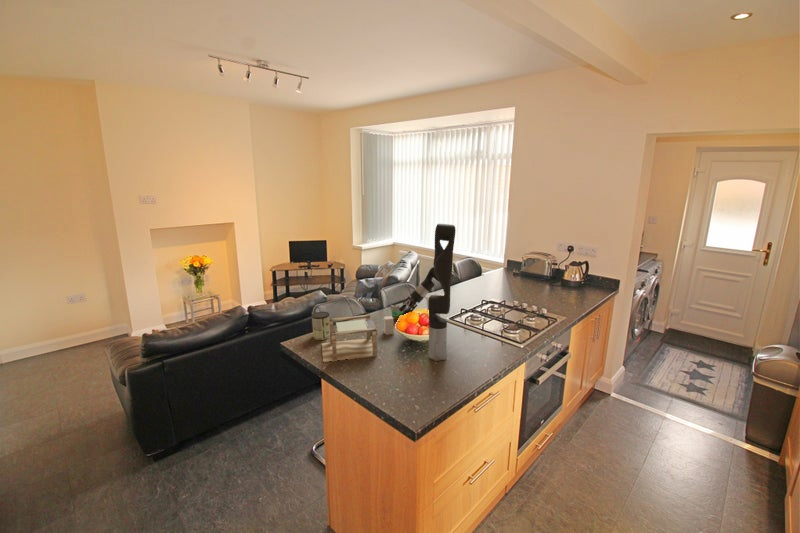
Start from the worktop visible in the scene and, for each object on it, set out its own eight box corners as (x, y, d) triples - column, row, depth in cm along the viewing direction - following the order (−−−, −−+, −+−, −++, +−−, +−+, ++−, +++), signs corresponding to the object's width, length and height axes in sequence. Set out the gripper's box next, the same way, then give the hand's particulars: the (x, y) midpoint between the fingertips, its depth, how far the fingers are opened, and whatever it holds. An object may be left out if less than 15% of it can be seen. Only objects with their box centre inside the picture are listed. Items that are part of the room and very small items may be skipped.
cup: (443, 319, 243) (444, 297, 240) (425, 319, 243) (425, 298, 240) (442, 313, 255) (442, 292, 252) (424, 313, 255) (424, 292, 252)
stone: (393, 334, 220) (393, 318, 218) (385, 335, 219) (385, 319, 217) (391, 331, 225) (391, 315, 223) (384, 332, 224) (383, 316, 222)
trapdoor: (377, 335, 192) (377, 328, 192) (338, 341, 188) (338, 333, 187) (372, 324, 210) (371, 317, 209) (336, 328, 205) (335, 321, 204)
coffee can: (316, 332, 224) (314, 311, 221) (332, 333, 223) (331, 311, 220) (310, 339, 214) (309, 317, 211) (327, 340, 213) (326, 317, 210)
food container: (386, 320, 243) (386, 306, 241) (391, 317, 249) (391, 303, 247) (403, 323, 238) (403, 308, 236) (407, 320, 243) (407, 306, 241)
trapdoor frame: (377, 355, 192) (376, 329, 189) (323, 362, 186) (321, 335, 182) (370, 338, 214) (369, 314, 211) (321, 344, 207) (320, 319, 204)
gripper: (412, 286, 227) (394, 305, 227) (418, 292, 214) (400, 313, 213) (420, 294, 229) (403, 313, 229) (427, 300, 216) (408, 320, 216)
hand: (401, 313), depth 221 cm, fingers open, 8 cm apart
